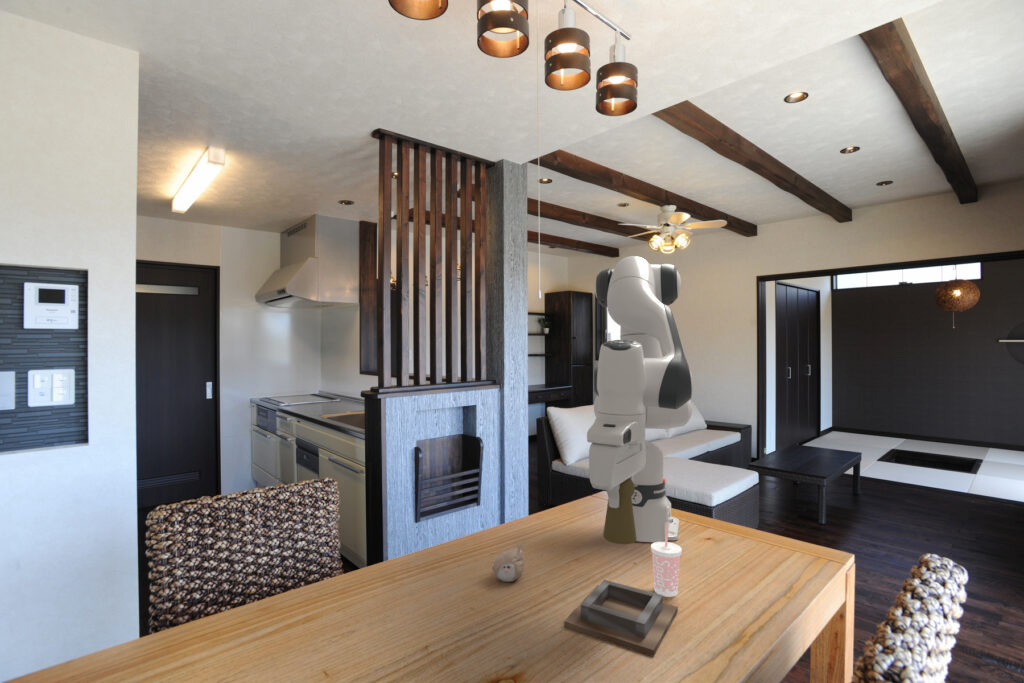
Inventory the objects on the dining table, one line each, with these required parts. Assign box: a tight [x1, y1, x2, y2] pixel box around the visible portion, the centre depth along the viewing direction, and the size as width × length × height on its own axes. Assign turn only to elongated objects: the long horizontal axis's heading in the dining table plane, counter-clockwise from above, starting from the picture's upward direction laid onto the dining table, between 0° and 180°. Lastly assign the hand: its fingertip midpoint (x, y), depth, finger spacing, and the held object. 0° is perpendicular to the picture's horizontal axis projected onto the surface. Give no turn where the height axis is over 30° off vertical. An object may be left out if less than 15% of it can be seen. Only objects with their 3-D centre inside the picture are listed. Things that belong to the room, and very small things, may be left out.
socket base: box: [563, 579, 679, 657], centre depth 92 cm, size 16×16×4 cm
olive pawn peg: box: [602, 478, 637, 545], centre depth 92 cm, size 6×6×11 cm
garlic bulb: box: [492, 541, 525, 583], centre depth 107 cm, size 7×6×8 cm
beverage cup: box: [650, 522, 683, 598], centre depth 103 cm, size 6×6×14 cm
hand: (620, 502), depth 92 cm, fingers closed on olive pawn peg, 4 cm apart
